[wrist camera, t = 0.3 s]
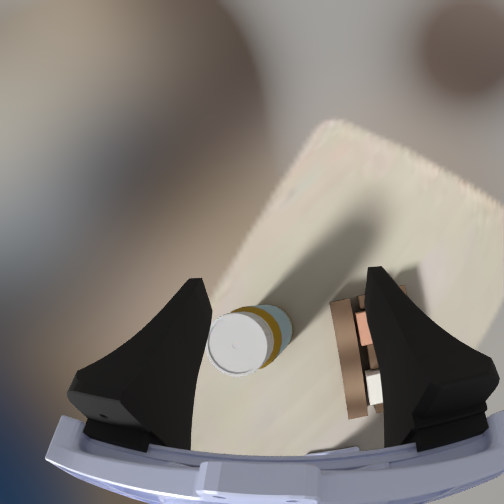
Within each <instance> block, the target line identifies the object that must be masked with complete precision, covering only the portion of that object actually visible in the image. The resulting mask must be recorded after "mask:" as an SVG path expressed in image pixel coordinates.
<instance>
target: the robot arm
mask: <svg viewBox="0 0 504 504" xmlns="http://www.w3.org/2000/svg"><path fill="white" fill-rule="evenodd" d="M364 305H365V311H366V318H367V324H368V327H369V331H370V335H371V339H372V342H373V346H374V350H375V354H376V358H377V362H378V366H379V371H380V378H381V387H382V397H383V410H384V448H382V449H375V450H368V451H360V452H359V447H357V446H355V447H350V448H344V449H338V450H332V451H326V452H319V453H311V454H306V455H305V456H248V455H231V454H218V453H208V452H199V451H191V428H192V415H193V406H194V397H195V390H196V383H197V377H198V373H199V369H200V365H201V361H202V358H203V354H204V350H205V347H206V343H207V340H208V336H209V332H210V326H211V319H212V308H211V305H210V302H209V298H208V295H207V292H206V289H205V286H204V283H203V280H202V278H191V279H189V280H187V282H186V283H185V284H184V285H183V286H182V287H181V288H180V290H179V291H178V292H177V293H176V294H175V295H174V296H173V298H172V299H171V300H170V301H169V302H168V303H167V304H166V305H165V307H164V308H163V309H162V310H161V311H160V312H159V313H158V314H157V315H156V316H155V317H154V318H153V319H152V320H151V321H150V322H149V323H148V324H147V325H146V326H145V327H144V328H143V329H142V330H141V331H139V332H138V333H137V334H136V335H135V336H133V337H132V338H131V339H130V340H128V341H127V342H126V343H124V344H123V345H122V346H120V347H119V348H117V349H116V350H115V351H113V352H112V353H110V354H108V355H107V356H105V357H104V358H102V359H100V360H98V361H97V362H95V363H93V364H91V365H89V366H87V367H85V368H83V369H81V370H78V371H77V373H76V375H75V377H74V379H73V381H72V383H71V385H70V387H69V390H68V392H67V397H68V399H69V401H70V402H71V403H72V404H73V405H74V406H75V407H76V408H77V409H78V410H79V411H81V413H82V414H84V415H85V416H86V417H87V418H88V419H87V422H86V424H85V423H84V422H82V421H79V420H76V419H73V418H70V417H67V416H61V419H60V421H59V424H58V426H57V429H56V431H55V433H54V436H53V438H52V441H51V443H50V446H49V449H48V451H47V454H46V457H45V459H46V460H47V461H49V462H51V463H52V464H54V465H56V466H57V467H59V468H60V469H62V470H64V471H66V472H67V473H69V474H71V475H73V476H75V477H76V478H79V479H81V480H84V481H86V482H88V483H91V484H94V485H96V486H99V487H101V488H104V489H107V490H110V491H112V492H115V493H118V494H121V495H124V496H127V497H130V498H133V499H136V500H139V501H143V502H146V503H150V504H425V503H429V502H432V501H435V500H439V499H442V498H445V497H447V496H451V495H453V494H456V493H459V492H462V491H465V490H467V489H470V488H472V487H475V486H477V485H480V484H482V483H485V482H487V481H489V480H492V479H494V478H497V477H498V476H500V475H502V474H503V473H504V410H502V411H499V412H497V413H494V414H492V415H490V416H489V417H487V418H486V415H485V411H486V410H487V405H486V402H485V401H486V400H487V399H488V397H489V396H490V395H491V394H492V392H493V391H494V390H495V388H496V387H497V385H498V383H499V379H500V378H499V375H498V373H497V370H496V367H495V365H494V363H493V361H492V359H491V358H490V357H488V356H486V355H484V354H482V353H480V352H478V351H476V350H474V349H472V348H471V347H469V346H467V345H466V344H464V343H462V342H461V341H459V340H458V339H456V338H455V337H453V336H452V335H450V334H449V333H448V332H446V331H445V330H443V329H442V328H441V327H440V326H438V325H437V324H436V323H435V322H434V321H432V320H431V319H430V318H429V317H428V316H427V315H425V314H424V313H423V312H422V311H421V310H420V309H419V308H418V307H417V306H416V305H415V304H414V303H413V302H412V301H411V300H410V298H409V297H408V296H407V295H406V294H405V293H404V292H403V291H402V290H401V288H400V287H399V286H398V285H397V284H396V283H395V281H394V280H393V279H392V278H391V277H390V275H389V274H388V273H387V272H386V271H385V270H384V268H383V267H382V266H379V267H368V272H367V282H366V291H365V299H364ZM356 451H357V452H356Z"/></svg>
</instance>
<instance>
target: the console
mask: <svg viewBox="0 0 504 504" xmlns="http://www.w3.org/2000/svg"><path fill="white" fill-rule="evenodd" d="M399 287H400V288H401V290H402V291H403V292H404V293H405V294H406V289H405V285H401V286H399ZM406 295H407V294H406ZM357 299H358V304H359V308H360V309H363V308H365V305H364V299H365V295H361V296H357ZM330 308H331V313H332V318H333V324H334V329H335V335H336V340H337V346H338V352H339V358H340V364H341V370H342V377H343V383H344V390H345V397H346V404H347V411H348V419H354V418H359V417H363V416H368V412H367V403H366V395H365V388H364V380H363V373H362V366H361V360H360V353H359V347H358V341H357V335H356V330H355V324H354V319H353V313H352V308H351V303H350V298H348V299H343V300H339V301H335V302H330ZM366 350H367V356H368V363H369V366H370V368H371V369H375V368H379V366H378V362H377V358H376V354H375V350H374V346H373V344H368V345H366ZM374 407H375V410H376V413H381V412H384V410H383V403H379V404H374Z"/></svg>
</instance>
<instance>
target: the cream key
mask: <svg viewBox="0 0 504 504" xmlns="http://www.w3.org/2000/svg"><path fill="white" fill-rule="evenodd" d="M365 378H366V385H367V393H368V399H369V402H370V405H374V404H379V403H383V397H382V387H381V378H380V371H379V368H375V369H371V370H367V371H365Z"/></svg>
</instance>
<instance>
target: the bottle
mask: <svg viewBox="0 0 504 504" xmlns="http://www.w3.org/2000/svg"><path fill="white" fill-rule="evenodd" d="M291 337H292V323H291V321H290V318H289V317H288V315H287V314H286V313H285V312H284V311H283V310H282V309H280V308H279V307H276V306H273V305H257V306H247V307H242V308H239V309H236V310H234V311H232V312H231V313H228V314H225V315H223V316H220V317H219V318H217V319H216V320H215V321H214V322H213V323H212V324H211V326H210V332H209V336H208V340H207V343H206V347H205V350H206V354H207V356H208V358H209V360H210V362H211V363H212V365H213V366H214V367H215V368H216V369H218V370H219V371H220V372H222V373H224V374H226V375H229V376H234V377H242V376H246V375H249V374H252V373H253V372H255V371H257V370H258V369H261V368H264V367H266V366H267V365H268V364H270V363H271V362H272V361H273V360H274V359H275V358H276V357H277V356H278V355H279V354H280V353H281V352H282V351H283V350H284V349H285V348H286V347H287V345H288V344H289V342H290V340H291Z"/></svg>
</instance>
